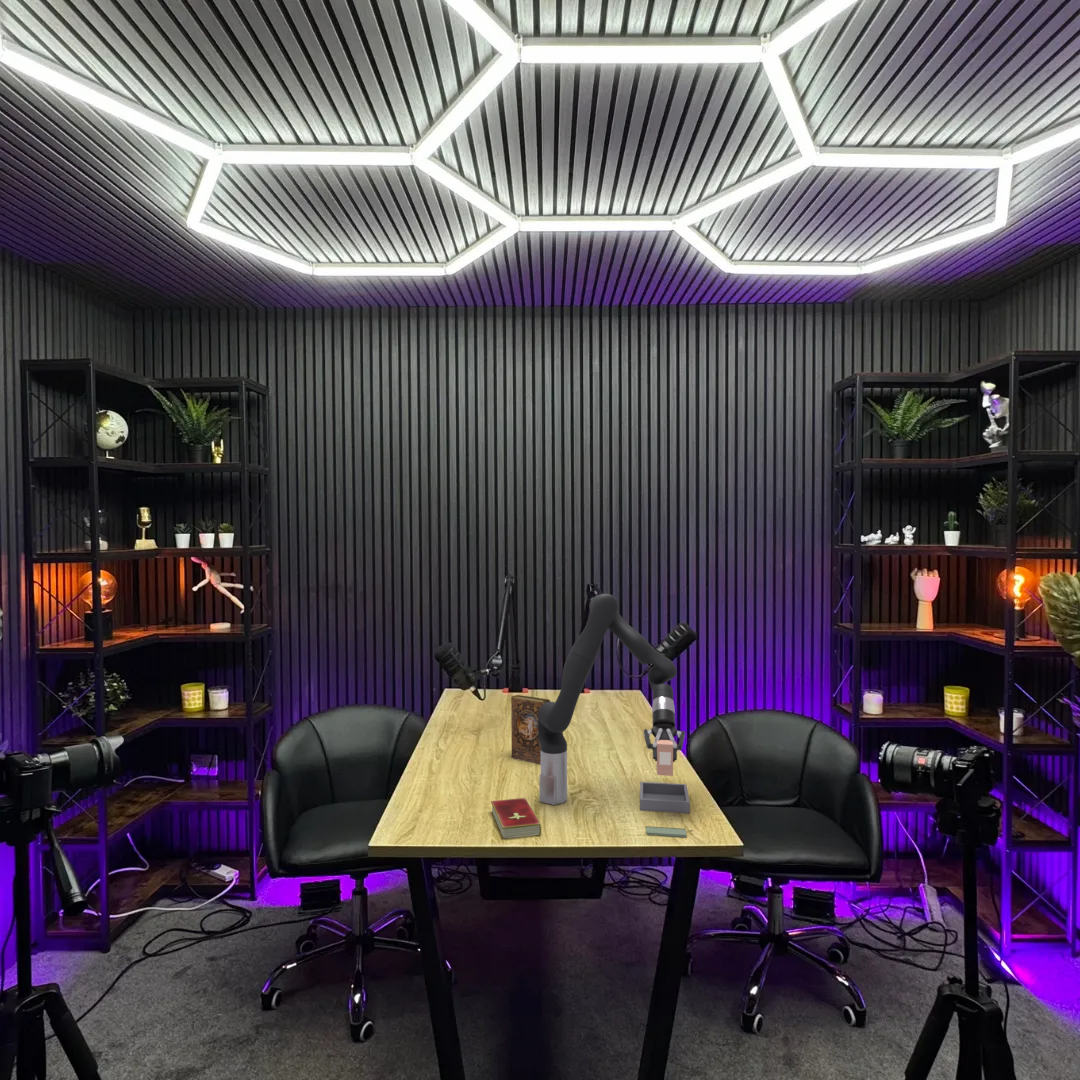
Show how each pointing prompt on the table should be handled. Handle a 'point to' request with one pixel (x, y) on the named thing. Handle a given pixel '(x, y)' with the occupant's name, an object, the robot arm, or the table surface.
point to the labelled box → (665, 757)
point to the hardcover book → (515, 818)
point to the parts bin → (664, 797)
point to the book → (525, 728)
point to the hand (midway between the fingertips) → (665, 760)
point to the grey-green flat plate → (666, 831)
